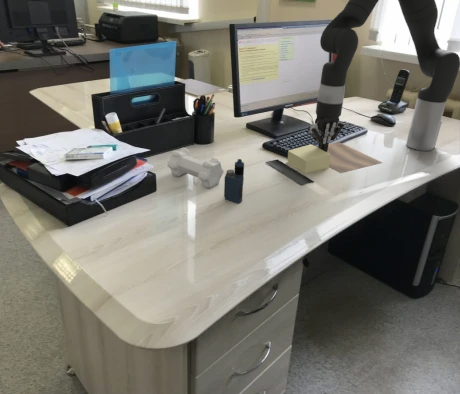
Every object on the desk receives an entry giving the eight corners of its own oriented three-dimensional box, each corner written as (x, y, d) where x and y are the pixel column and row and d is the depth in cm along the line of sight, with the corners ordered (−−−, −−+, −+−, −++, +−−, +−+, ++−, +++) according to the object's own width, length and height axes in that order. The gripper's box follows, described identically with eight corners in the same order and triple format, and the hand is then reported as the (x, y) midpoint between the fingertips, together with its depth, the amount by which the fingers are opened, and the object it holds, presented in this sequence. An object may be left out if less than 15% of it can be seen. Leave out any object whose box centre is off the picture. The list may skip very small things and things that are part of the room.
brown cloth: (338, 146, 152) (339, 142, 151) (381, 166, 137) (382, 162, 136) (298, 154, 144) (298, 150, 143) (339, 177, 129) (340, 173, 128)
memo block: (310, 158, 138) (311, 144, 136) (328, 169, 131) (330, 154, 129) (287, 165, 135) (288, 150, 132) (305, 176, 128) (306, 161, 125)
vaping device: (239, 205, 112) (241, 162, 106) (222, 199, 114) (223, 157, 108) (244, 201, 114) (246, 159, 108) (227, 195, 116) (228, 154, 110)
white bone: (224, 184, 123) (226, 158, 120) (204, 192, 117) (206, 164, 114) (185, 170, 131) (186, 144, 128) (165, 176, 125) (166, 150, 121)
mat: (300, 155, 143) (300, 154, 143) (337, 176, 129) (337, 175, 129) (265, 162, 137) (265, 161, 137) (300, 185, 123) (301, 184, 123)
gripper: (321, 105, 121) (313, 161, 129) (355, 100, 127) (346, 154, 135) (304, 98, 127) (298, 152, 135) (338, 94, 133) (330, 146, 141)
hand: (322, 153), depth 135 cm, fingers closed
